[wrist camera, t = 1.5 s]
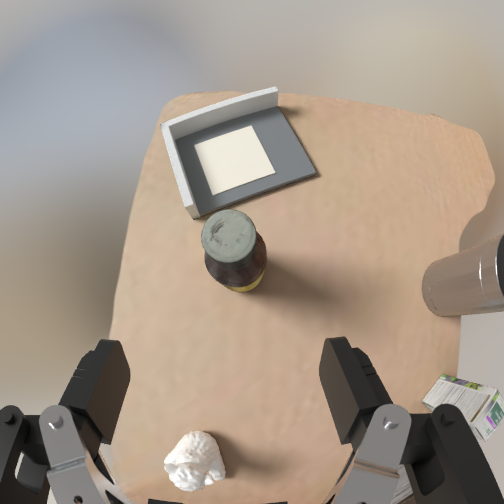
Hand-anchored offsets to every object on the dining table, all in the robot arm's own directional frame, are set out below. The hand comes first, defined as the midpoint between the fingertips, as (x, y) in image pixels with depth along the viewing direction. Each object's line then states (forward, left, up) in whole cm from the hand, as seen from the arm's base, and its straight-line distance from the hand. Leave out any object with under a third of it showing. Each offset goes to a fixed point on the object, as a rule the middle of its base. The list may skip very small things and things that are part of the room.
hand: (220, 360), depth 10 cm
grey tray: (-8, -26, -28) cm, 39 cm away
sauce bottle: (-2, -8, -28) cm, 29 cm away
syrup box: (-24, +24, -28) cm, 44 cm away
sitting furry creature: (+14, +15, -28) cm, 35 cm away
